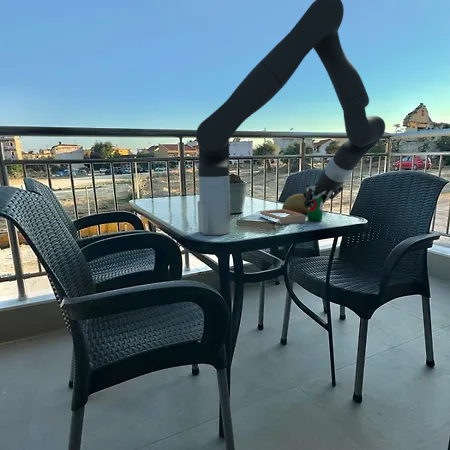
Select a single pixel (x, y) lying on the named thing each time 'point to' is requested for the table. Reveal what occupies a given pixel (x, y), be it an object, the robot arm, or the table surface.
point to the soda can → (315, 209)
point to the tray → (290, 219)
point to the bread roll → (295, 204)
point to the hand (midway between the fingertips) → (312, 205)
